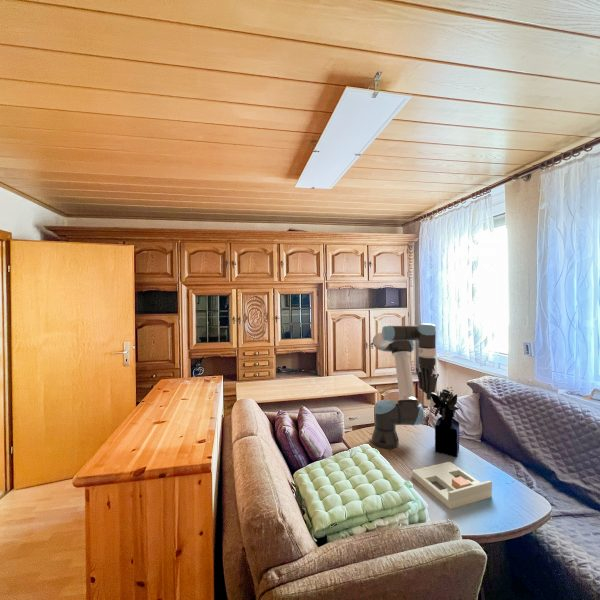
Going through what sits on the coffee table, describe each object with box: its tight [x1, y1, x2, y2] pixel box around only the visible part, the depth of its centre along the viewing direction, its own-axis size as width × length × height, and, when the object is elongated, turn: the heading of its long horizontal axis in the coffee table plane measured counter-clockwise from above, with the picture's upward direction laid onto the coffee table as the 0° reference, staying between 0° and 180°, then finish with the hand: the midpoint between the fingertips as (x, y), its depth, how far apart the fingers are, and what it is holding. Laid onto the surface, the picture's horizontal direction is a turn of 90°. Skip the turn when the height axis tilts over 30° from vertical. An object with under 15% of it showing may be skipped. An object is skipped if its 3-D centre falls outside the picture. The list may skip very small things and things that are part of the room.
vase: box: [431, 386, 460, 458], centre depth 168 cm, size 14×12×35 cm
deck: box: [411, 461, 493, 510], centre depth 138 cm, size 23×22×6 cm
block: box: [452, 476, 470, 489], centre depth 132 cm, size 5×5×3 cm
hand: (427, 405), depth 148 cm, fingers closed
